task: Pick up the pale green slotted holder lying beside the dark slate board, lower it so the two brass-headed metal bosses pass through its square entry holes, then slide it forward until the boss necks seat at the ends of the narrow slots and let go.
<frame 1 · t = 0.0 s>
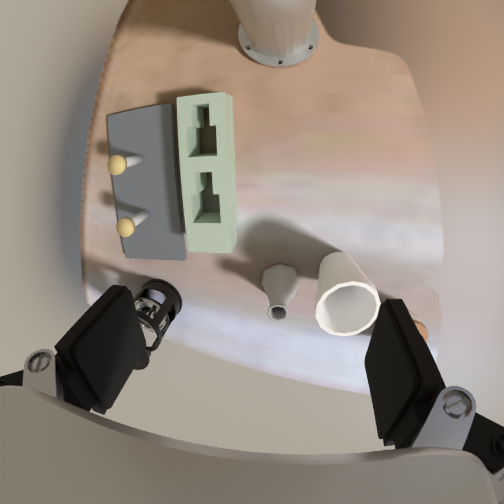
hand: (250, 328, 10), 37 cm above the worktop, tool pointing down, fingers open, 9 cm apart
lidded jar: (392, 320, 52), on the worktop
foam cup: (336, 267, 48), on the worktop
pale green slotted holder: (214, 170, 44), on the worktop
flask: (280, 280, 51), on the worktop
french press: (160, 298, 57), on the worktop
board: (145, 185, 47), on the worktop
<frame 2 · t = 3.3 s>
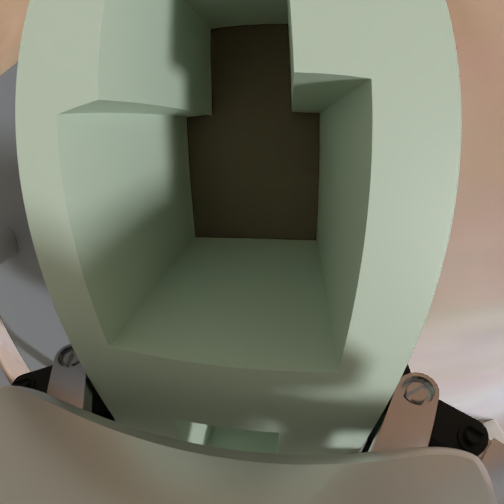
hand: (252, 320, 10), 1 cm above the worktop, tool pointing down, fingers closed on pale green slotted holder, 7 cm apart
pale green slotted holder: (255, 303, 11), on the worktop, touching gripper
board: (48, 308, 14), on the worktop
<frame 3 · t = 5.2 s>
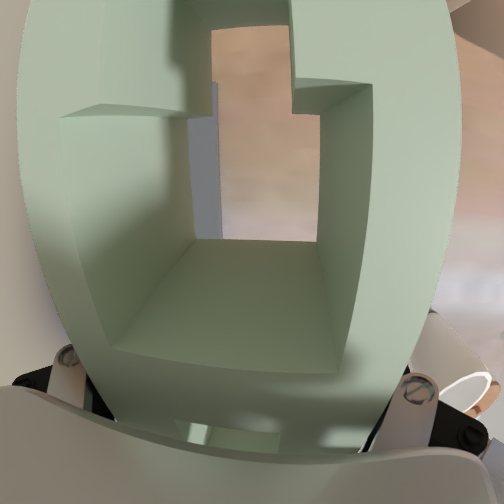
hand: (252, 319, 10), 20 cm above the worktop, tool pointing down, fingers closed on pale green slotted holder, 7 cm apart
lidded jar: (462, 375, 36), on the worktop
foam cup: (424, 329, 32), on the worktop
pale green slotted holder: (256, 304, 11), point 19 cm above the worktop, touching gripper
board: (165, 215, 30), on the worktop
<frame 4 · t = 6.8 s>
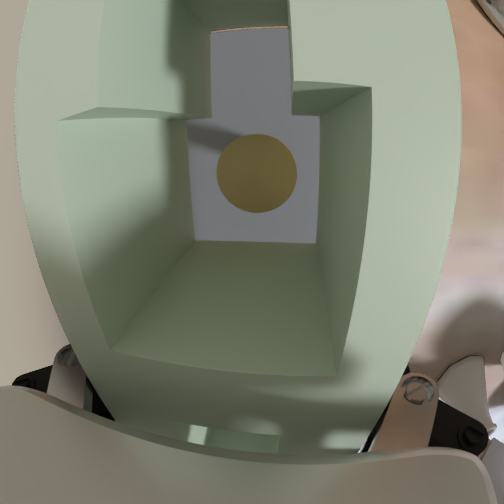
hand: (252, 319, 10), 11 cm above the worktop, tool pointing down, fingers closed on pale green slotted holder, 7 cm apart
pale green slotted holder: (255, 306, 11), point 10 cm above the worktop, touching gripper
flask: (458, 373, 25), on the worktop
board: (272, 224, 20), on the worktop
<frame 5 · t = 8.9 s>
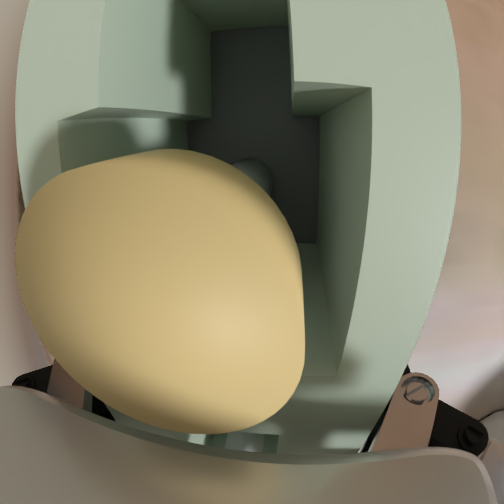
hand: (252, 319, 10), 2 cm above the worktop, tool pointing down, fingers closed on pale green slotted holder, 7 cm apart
pale green slotted holder: (255, 306, 11), point 1 cm above the worktop, touching board, gripper
flask: (479, 427, 17), on the worktop
board: (256, 291, 12), on the worktop
when the fingers open (2 cm above the worktop, at t = 10.6 s): pale green slotted holder stays where it is, resting on board.
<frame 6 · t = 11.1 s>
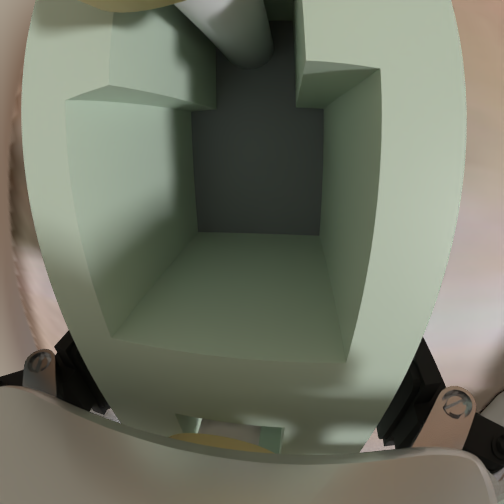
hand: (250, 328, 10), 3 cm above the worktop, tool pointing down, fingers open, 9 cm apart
pale green slotted holder: (258, 299, 11), point 1 cm above the worktop, touching board
flask: (502, 400, 15), on the worktop
board: (257, 183, 10), on the worktop
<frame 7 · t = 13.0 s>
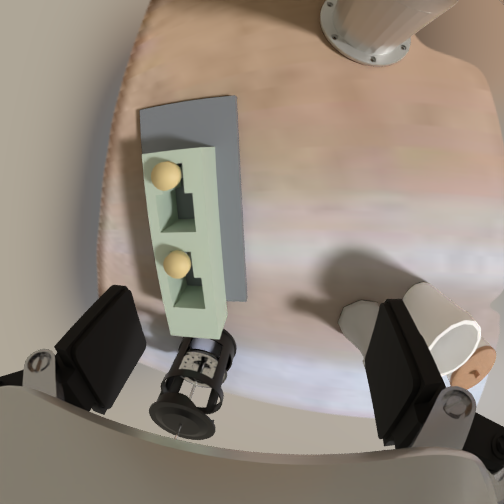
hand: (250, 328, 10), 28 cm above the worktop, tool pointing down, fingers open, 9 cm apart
lidded jar: (458, 346, 41), on the worktop
foam cup: (418, 299, 38), on the worktop
pale green slotted holder: (195, 238, 37), point 1 cm above the worktop, touching board
flask: (359, 317, 41), on the worktop
french press: (207, 344, 46), on the worktop
board: (194, 205, 37), on the worktop
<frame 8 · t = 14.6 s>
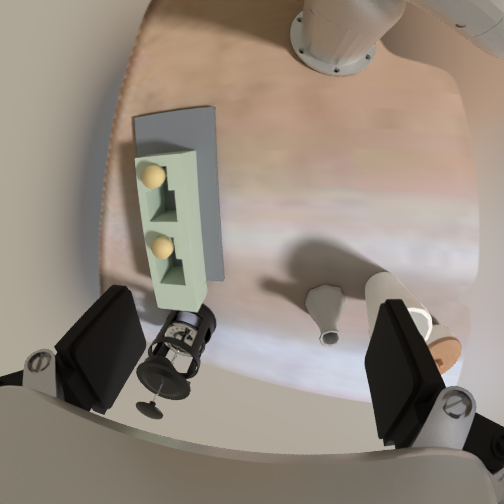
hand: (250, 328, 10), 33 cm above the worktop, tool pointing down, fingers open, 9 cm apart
lidded jar: (426, 335, 48), on the worktop
foam cup: (380, 287, 45), on the worktop
pale green slotted holder: (180, 226, 44), point 1 cm above the worktop, touching board
flask: (324, 300, 48), on the worktop
french press: (191, 319, 53), on the worktop
board: (179, 198, 43), on the worktop
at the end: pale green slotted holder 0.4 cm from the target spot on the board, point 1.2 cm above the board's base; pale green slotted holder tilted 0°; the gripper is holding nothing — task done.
